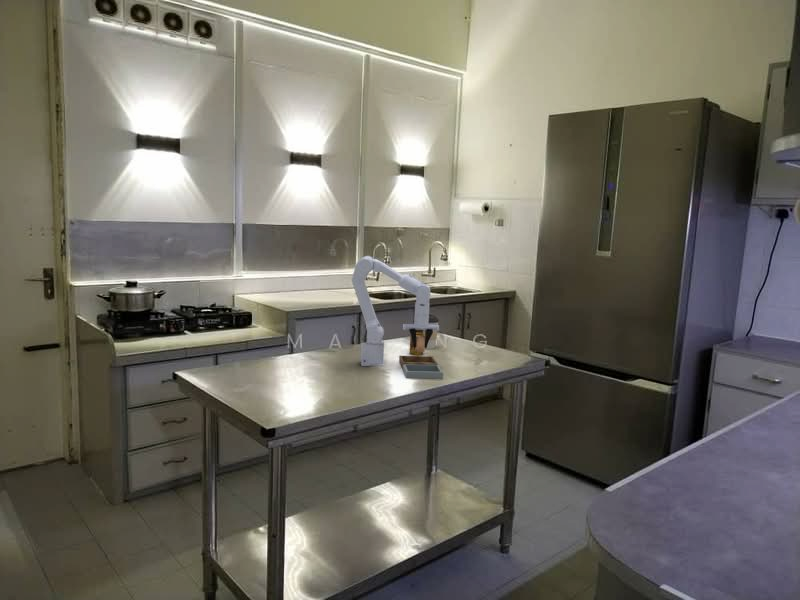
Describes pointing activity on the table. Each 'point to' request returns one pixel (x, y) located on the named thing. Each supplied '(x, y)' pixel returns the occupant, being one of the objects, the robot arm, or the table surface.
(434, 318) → the coffee cup
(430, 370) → the bin
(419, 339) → the orange tan cylinder
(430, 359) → the bin
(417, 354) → the condiment
